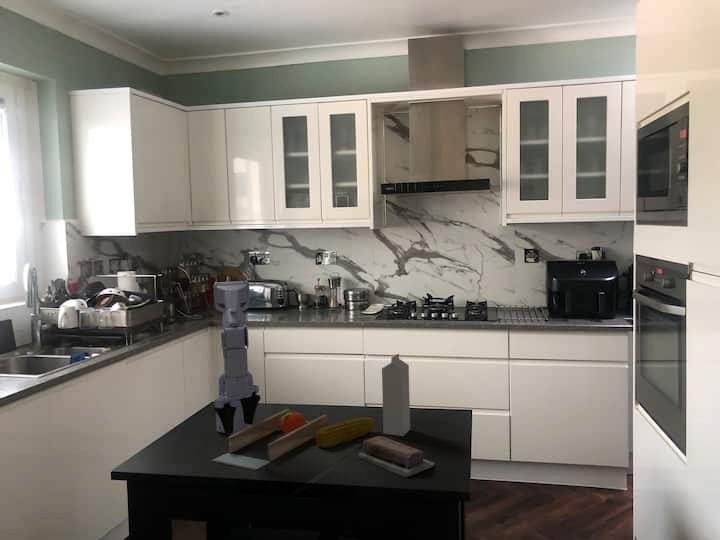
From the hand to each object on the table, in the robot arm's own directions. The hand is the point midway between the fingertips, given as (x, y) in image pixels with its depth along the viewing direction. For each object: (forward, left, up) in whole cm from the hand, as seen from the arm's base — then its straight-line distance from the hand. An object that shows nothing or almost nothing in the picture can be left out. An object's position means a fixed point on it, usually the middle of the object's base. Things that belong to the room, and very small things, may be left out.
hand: (238, 428), depth 161 cm
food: (+16, +26, -10) cm, 32 cm away
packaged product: (+34, +18, -10) cm, 40 cm away
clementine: (0, +22, -10) cm, 24 cm away
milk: (+25, +38, -10) cm, 47 cm away
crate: (0, +17, -9) cm, 19 cm away
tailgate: (0, +3, -8) cm, 9 cm away
